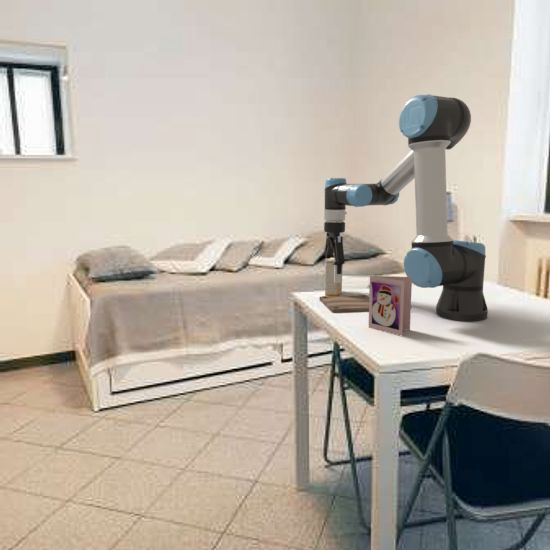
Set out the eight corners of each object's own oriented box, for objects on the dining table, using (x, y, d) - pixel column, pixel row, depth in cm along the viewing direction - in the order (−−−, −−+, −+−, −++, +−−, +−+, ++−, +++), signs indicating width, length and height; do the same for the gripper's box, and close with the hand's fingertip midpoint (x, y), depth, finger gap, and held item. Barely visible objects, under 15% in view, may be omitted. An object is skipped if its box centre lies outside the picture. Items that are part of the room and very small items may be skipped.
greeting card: (366, 328, 150) (367, 276, 147) (382, 323, 155) (384, 272, 152) (400, 336, 141) (402, 281, 139) (416, 331, 146) (418, 278, 143)
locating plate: (383, 310, 170) (383, 305, 169) (332, 312, 167) (332, 307, 167) (366, 298, 187) (366, 294, 187) (319, 300, 185) (319, 295, 185)
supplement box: (337, 296, 191) (338, 260, 188) (324, 295, 192) (325, 260, 190) (342, 291, 198) (342, 257, 196) (329, 291, 200) (330, 256, 197)
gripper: (354, 224, 179) (352, 285, 183) (336, 218, 203) (334, 272, 207) (333, 224, 178) (331, 286, 182) (317, 218, 202) (316, 272, 206)
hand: (333, 279), depth 194 cm, fingers open, 13 cm apart
